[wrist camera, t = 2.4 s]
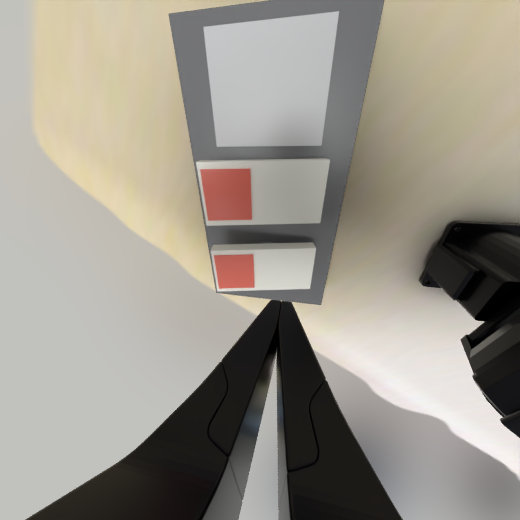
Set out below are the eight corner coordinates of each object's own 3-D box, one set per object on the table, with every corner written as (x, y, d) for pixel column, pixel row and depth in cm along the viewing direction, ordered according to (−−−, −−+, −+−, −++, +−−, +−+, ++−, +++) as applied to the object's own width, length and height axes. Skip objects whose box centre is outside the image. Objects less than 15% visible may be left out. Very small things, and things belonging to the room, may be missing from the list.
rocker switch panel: (368, 18, 11) (394, -28, 8) (318, 286, 22) (321, 311, 19) (193, 37, 13) (159, 5, 10) (225, 276, 24) (213, 297, 20)
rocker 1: (325, 158, 12) (330, 159, 12) (316, 218, 15) (320, 223, 14) (199, 160, 12) (195, 162, 11) (209, 220, 14) (206, 226, 14)
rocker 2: (312, 242, 16) (316, 248, 15) (307, 281, 18) (310, 289, 17) (212, 244, 16) (210, 251, 15) (219, 284, 18) (217, 292, 17)
